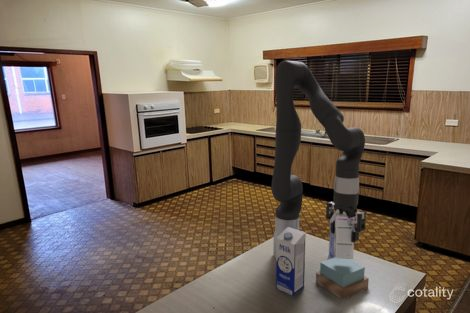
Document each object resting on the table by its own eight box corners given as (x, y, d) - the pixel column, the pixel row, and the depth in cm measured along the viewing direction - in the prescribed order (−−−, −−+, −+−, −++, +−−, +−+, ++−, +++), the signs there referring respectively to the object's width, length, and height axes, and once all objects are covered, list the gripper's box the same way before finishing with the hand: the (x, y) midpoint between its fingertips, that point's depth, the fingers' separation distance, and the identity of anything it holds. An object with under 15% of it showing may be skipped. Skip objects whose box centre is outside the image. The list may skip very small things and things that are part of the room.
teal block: (320, 273, 113) (320, 262, 113) (340, 265, 118) (341, 255, 118) (342, 287, 105) (343, 275, 104) (363, 278, 110) (364, 267, 109)
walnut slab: (315, 283, 114) (316, 272, 114) (339, 273, 121) (340, 263, 120) (343, 301, 104) (343, 289, 104) (367, 289, 111) (368, 278, 110)
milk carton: (304, 287, 111) (306, 231, 107) (293, 296, 106) (294, 238, 102) (286, 280, 116) (287, 226, 112) (275, 288, 111) (276, 232, 107)
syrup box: (353, 259, 107) (356, 217, 104) (334, 257, 108) (336, 215, 106) (351, 251, 113) (353, 210, 110) (333, 250, 114) (335, 209, 111)
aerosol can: (339, 265, 125) (342, 215, 121) (323, 256, 132) (325, 209, 128) (353, 259, 129) (356, 210, 126) (337, 251, 136) (339, 205, 132)
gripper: (321, 186, 110) (319, 232, 113) (357, 197, 98) (354, 248, 101) (336, 183, 114) (334, 227, 117) (373, 193, 102) (369, 242, 105)
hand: (343, 237), depth 109 cm, fingers closed on syrup box, 8 cm apart
